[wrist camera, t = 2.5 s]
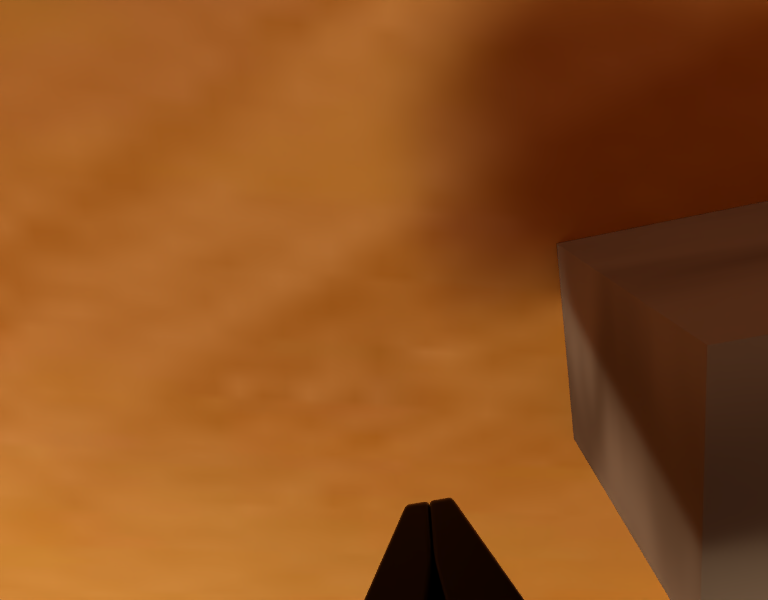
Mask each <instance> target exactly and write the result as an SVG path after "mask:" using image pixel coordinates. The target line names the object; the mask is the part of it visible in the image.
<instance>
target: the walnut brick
mask: <svg viewBox="0 0 768 600" xmlns="http://www.w3.org/2000/svg"><path fill="white" fill-rule="evenodd" d="M557 253H558V264H559V276H560V287H561V298H562V309H563V321H564V332H565V343H566V355H567V366H568V377H569V388H570V400H571V411H572V422H573V433H574V440H575V441H576V443H577V445H578V446H579V448H580V450H581V451H582V453H583V455H584V456H585V458H586V460H587V461H588V463H589V465H590V466H591V468H592V470H593V471H594V473H595V475H596V476H597V478H598V480H599V481H600V483H601V485H602V486H603V488H604V490H605V491H606V493H607V495H608V496H609V498H610V500H611V501H612V503H613V505H614V506H615V508H616V510H617V511H618V513H619V515H620V516H621V518H622V520H623V521H624V523H625V525H626V526H627V528H628V530H629V531H630V533H631V535H632V536H633V538H634V540H635V541H636V543H637V545H638V546H639V548H640V550H641V551H642V553H643V555H644V556H645V558H646V560H647V561H648V563H649V565H650V566H651V568H652V570H653V571H654V573H655V575H656V577H657V578H658V580H659V582H660V583H661V585H662V587H663V588H664V590H665V592H666V593H667V595H668V597H669V598H670V600H768V201H765V202H760V203H755V204H750V205H745V206H740V207H735V208H730V209H725V210H720V211H715V212H711V213H706V214H701V215H696V216H691V217H686V218H681V219H676V220H671V221H666V222H661V223H656V224H651V225H646V226H641V227H636V228H631V229H626V230H621V231H616V232H611V233H607V234H602V235H597V236H592V237H587V238H582V239H577V240H572V241H567V242H562V243H557Z"/></svg>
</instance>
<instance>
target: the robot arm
mask: <svg viewBox="0 0 768 600" xmlns="http://www.w3.org/2000/svg"><path fill="white" fill-rule="evenodd" d="M364 600H524V599H523V598H522V596H521V595H520V593H519V592H518V590H517V589H516V588H515V586H514V585H513V583H512V582H511V581H510V579H509V578H508V576H507V575H506V573H505V572H504V571H503V569H502V568H501V566H500V565H499V564H498V562H497V561H496V559H495V558H494V556H493V555H492V554H491V552H490V551H489V549H488V548H487V547H486V545H485V544H484V542H483V541H482V539H481V538H480V537H479V535H478V534H477V532H476V531H475V530H474V528H473V527H472V525H471V524H470V522H469V521H468V520H467V518H466V517H465V515H464V514H463V513H462V511H461V510H460V508H459V507H458V505H457V504H456V503H455V501H454V500H453V499H452V498H445V499H439V500H433V501H431V502H430V505H429V504H428V503H427V502H421V503H415V504H409V505H407V506H406V507H405V509H404V511H403V513H402V515H401V518H400V520H399V522H398V525H397V527H396V529H395V531H394V534H393V536H392V538H391V540H390V543H389V545H388V547H387V550H386V552H385V554H384V556H383V559H382V561H381V563H380V565H379V568H378V570H377V572H376V574H375V577H374V579H373V581H372V584H371V586H370V588H369V590H368V593H367V595H366V597H365V599H364Z"/></svg>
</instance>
